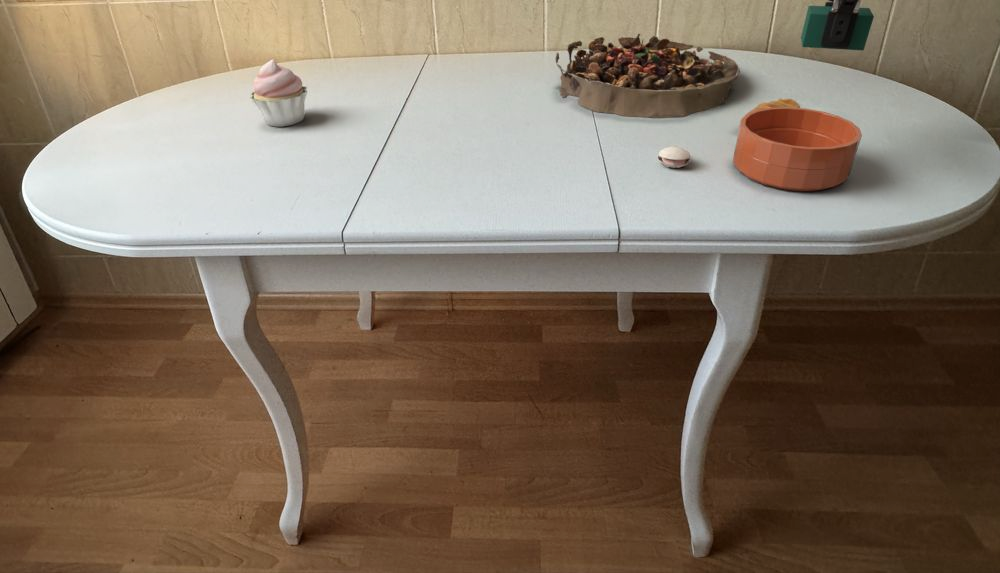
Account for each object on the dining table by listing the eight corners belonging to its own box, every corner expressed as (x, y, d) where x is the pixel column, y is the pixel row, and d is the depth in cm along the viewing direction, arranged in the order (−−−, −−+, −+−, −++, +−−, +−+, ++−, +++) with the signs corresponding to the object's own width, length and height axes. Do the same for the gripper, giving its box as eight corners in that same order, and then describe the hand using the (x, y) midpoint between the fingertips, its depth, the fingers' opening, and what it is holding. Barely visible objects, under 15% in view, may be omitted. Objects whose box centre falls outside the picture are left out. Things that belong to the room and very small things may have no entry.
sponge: (859, 41, 80) (869, 7, 77) (863, 50, 76) (874, 16, 74) (800, 38, 82) (808, 5, 79) (802, 47, 78) (810, 13, 76)
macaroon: (656, 169, 85) (658, 152, 84) (658, 154, 89) (660, 138, 88) (688, 172, 84) (691, 155, 83) (689, 157, 88) (692, 140, 86)
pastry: (762, 141, 92) (767, 116, 89) (727, 127, 97) (732, 103, 94) (805, 128, 95) (811, 103, 93) (770, 115, 100) (775, 91, 98)
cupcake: (321, 122, 103) (308, 61, 98) (264, 135, 100) (247, 72, 94) (305, 107, 110) (292, 48, 104) (251, 118, 106) (235, 58, 100)
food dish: (580, 56, 134) (582, 17, 129) (740, 71, 124) (749, 30, 119) (526, 104, 107) (527, 57, 102) (726, 128, 97) (737, 78, 92)
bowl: (841, 153, 87) (854, 111, 84) (853, 199, 76) (868, 154, 73) (733, 143, 91) (741, 103, 88) (730, 186, 80) (739, 142, 77)
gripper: (934, -130, 60) (873, 62, 71) (905, -137, 73) (857, 26, 84) (849, -128, 63) (802, 57, 73) (836, -135, 75) (798, 24, 86)
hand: (832, 39), depth 79 cm, fingers closed on sponge, 4 cm apart
